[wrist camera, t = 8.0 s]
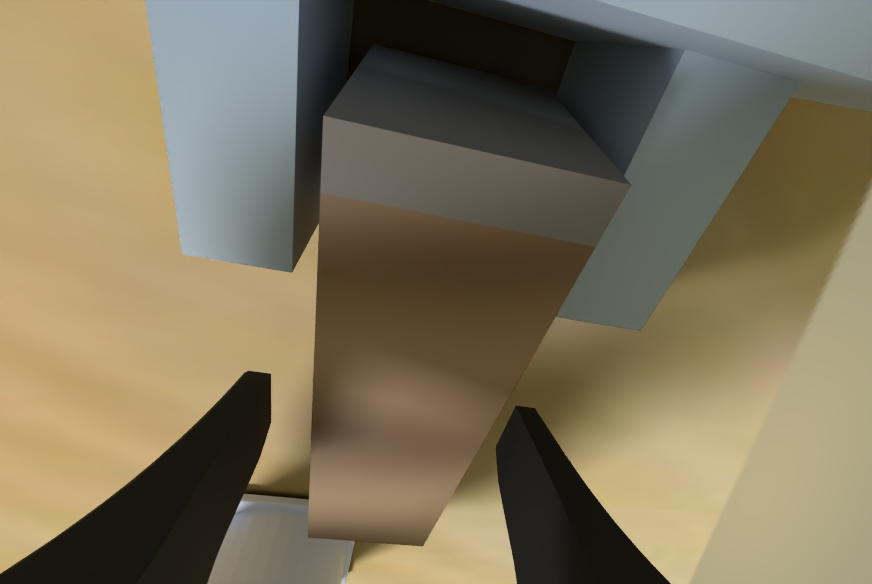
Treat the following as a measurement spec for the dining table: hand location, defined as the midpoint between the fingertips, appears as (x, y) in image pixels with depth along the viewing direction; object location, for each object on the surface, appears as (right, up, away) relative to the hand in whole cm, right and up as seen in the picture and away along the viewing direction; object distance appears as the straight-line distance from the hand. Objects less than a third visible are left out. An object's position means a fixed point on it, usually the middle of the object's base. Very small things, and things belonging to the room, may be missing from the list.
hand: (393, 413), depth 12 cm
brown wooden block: (0, +3, +1) cm, 4 cm away
